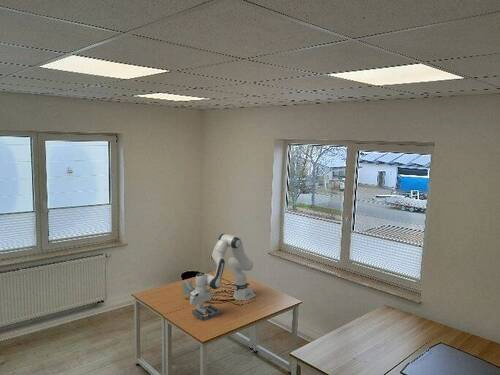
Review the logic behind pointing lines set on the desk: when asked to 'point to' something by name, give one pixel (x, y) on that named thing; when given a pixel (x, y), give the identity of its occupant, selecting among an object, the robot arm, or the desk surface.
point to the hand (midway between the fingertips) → (200, 307)
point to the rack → (207, 313)
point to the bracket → (188, 288)
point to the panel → (201, 310)
